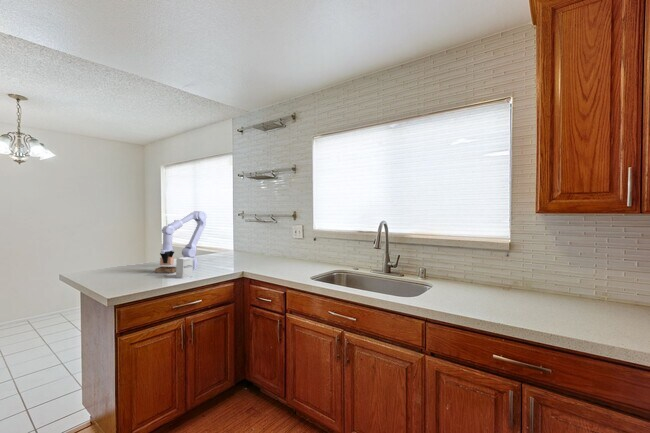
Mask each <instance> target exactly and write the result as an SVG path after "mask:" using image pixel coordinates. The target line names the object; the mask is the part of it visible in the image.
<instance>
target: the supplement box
mask: <svg viewBox="0 0 650 433" xmlns="http://www.w3.org/2000/svg"><path fill="white" fill-rule="evenodd" d="M175 260H176V262H175V264H176V265H175V267H176V272H175V278H180V279H187V278H192V277H193V271H194V270H193V258H189V257H183V256H182V257H177V258H176V259H175Z"/></svg>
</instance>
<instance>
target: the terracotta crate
mask: <svg viewBox="0 0 650 433" xmlns="http://www.w3.org/2000/svg"><path fill="white" fill-rule="evenodd" d="M159 258H160V259H159V264H160V265H159V266H171V265H172V266H173V265H174V264H175V256H172V257H168V261H167V263H163V259H162V257H159Z"/></svg>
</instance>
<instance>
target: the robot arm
mask: <svg viewBox="0 0 650 433" xmlns="http://www.w3.org/2000/svg"><path fill="white" fill-rule="evenodd" d="M207 217H208V216H207V214H206V212H205V211H204V210H201V211H200V210H194V211H192V212H190V213H188V215H186V216H183V217H182V219H175V220H173V222H170V223H168V224H167V225H164V226H163V227H162V229H161V233H162V248H161V249H160V253H159V255H160V256H161V257H162V259H163V263H167V261H168V257H174V254H175V251H174V250H175V249H174V247H173V234H174V233H175V231H177V230H179V229H180V228H182V227H183V225H184V224H185V223H186V224H187V222H190V221H191V220H195V222H196V224H197V225H196V227H195V229H194V231H193V232H192V236H191V238H190V240H189V242H188V243H187V244H185V245H184V248H183V249H182V250H181V255H182V258H183V257H189V258H193V271H195V270H198V269H199V267H198V264H199V263H198V262H199V261H198V258H197V257H195V256H196V255H197V250H198V249H197V244H198V242H199V241H200V237H201V236H202V234H203V231H204V230H205V227H206V225H207ZM161 257H160V258H161Z"/></svg>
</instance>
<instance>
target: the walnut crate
mask: <svg viewBox="0 0 650 433" xmlns="http://www.w3.org/2000/svg"><path fill="white" fill-rule="evenodd" d="M154 271H155V273H167V274H168V275H171V274H174V273H175V274H176V266H169V265H161V266H160V267H157V268H155V270H154Z"/></svg>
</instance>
